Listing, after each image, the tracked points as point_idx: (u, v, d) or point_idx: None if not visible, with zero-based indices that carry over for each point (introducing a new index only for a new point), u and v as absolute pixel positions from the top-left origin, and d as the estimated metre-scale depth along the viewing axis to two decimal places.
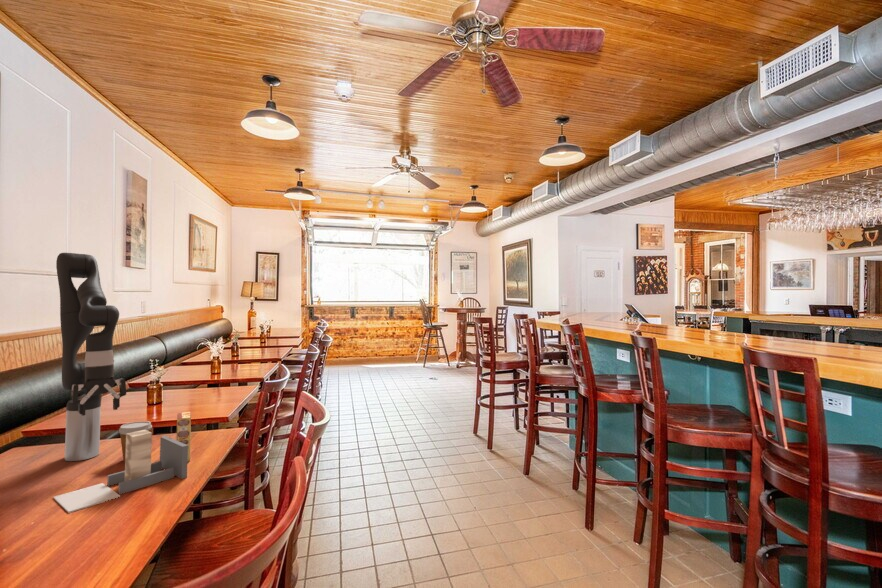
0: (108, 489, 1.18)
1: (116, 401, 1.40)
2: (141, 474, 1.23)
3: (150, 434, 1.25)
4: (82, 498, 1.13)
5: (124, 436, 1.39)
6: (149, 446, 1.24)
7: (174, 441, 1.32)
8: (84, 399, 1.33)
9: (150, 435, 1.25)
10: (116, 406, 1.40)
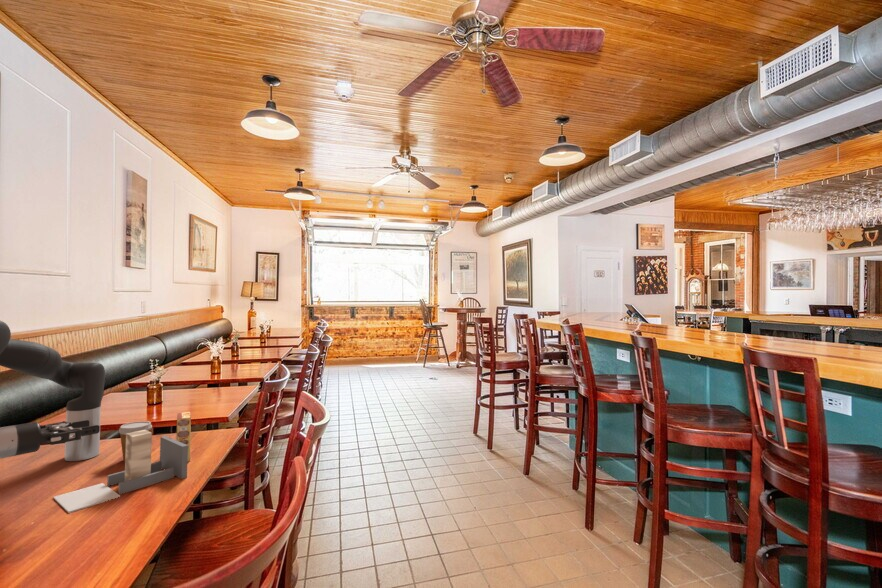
0: (108, 489, 1.18)
1: (85, 434, 1.10)
2: (141, 474, 1.23)
3: (150, 434, 1.24)
4: (82, 498, 1.13)
5: (124, 436, 1.39)
6: (149, 446, 1.24)
7: (174, 441, 1.32)
8: None
9: (150, 435, 1.24)
10: None
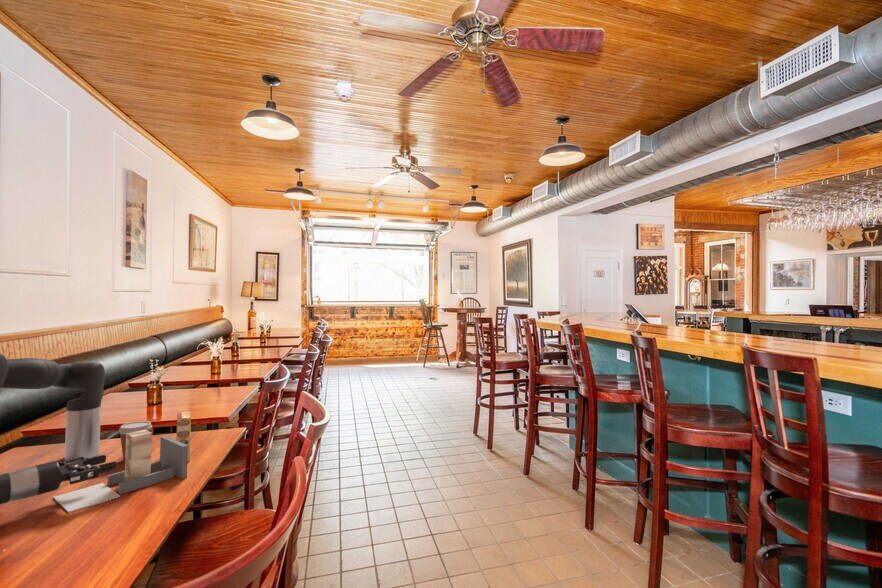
0: (108, 489, 1.18)
1: None
2: (141, 474, 1.23)
3: (150, 434, 1.24)
4: (82, 498, 1.13)
5: (124, 436, 1.39)
6: (149, 446, 1.24)
7: (174, 441, 1.32)
8: None
9: (150, 435, 1.24)
10: None
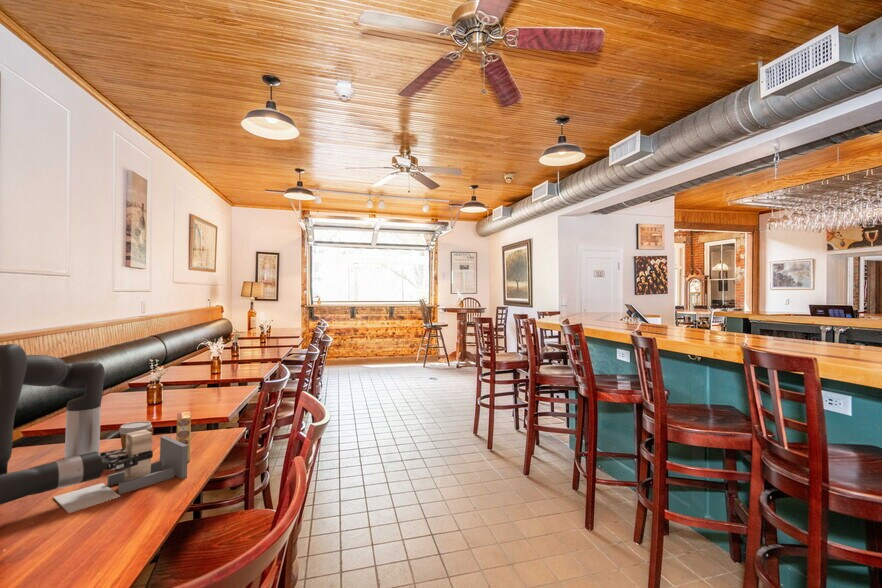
0: (108, 489, 1.18)
1: None
2: (141, 474, 1.23)
3: (150, 434, 1.25)
4: (82, 498, 1.13)
5: (124, 436, 1.39)
6: (149, 446, 1.24)
7: (174, 441, 1.32)
8: None
9: (150, 435, 1.25)
10: None
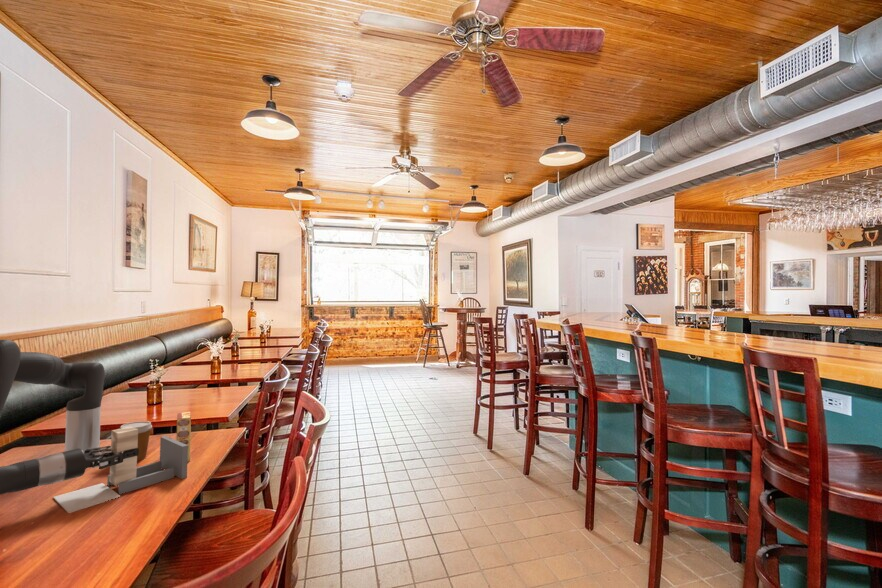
0: (108, 489, 1.18)
1: None
2: (126, 472, 1.19)
3: (136, 431, 1.22)
4: (82, 498, 1.13)
5: None
6: (135, 443, 1.21)
7: (174, 441, 1.32)
8: None
9: (136, 432, 1.22)
10: None
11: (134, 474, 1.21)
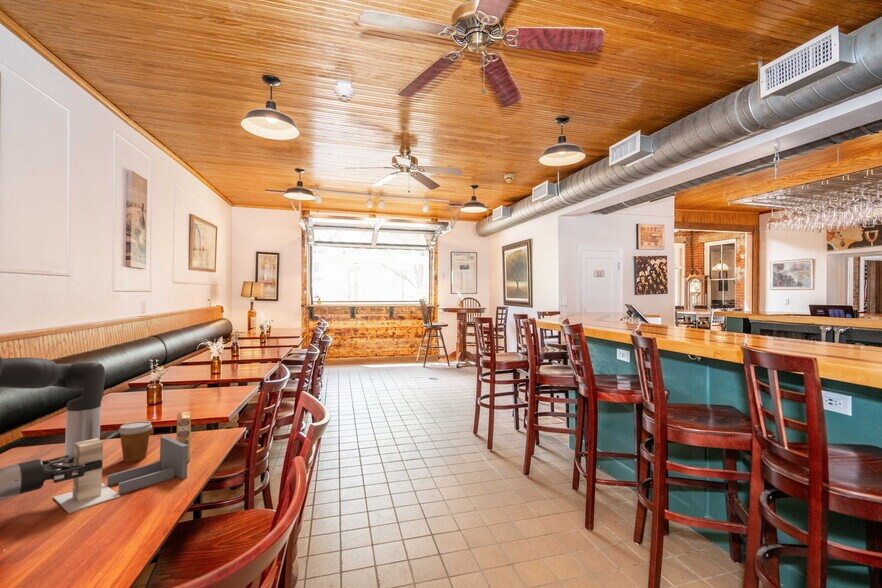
0: (108, 489, 1.18)
1: None
2: (90, 487, 1.13)
3: (101, 443, 1.15)
4: None
5: (124, 436, 1.39)
6: (100, 456, 1.14)
7: (174, 441, 1.32)
8: None
9: (101, 444, 1.15)
10: None
11: (99, 489, 1.14)
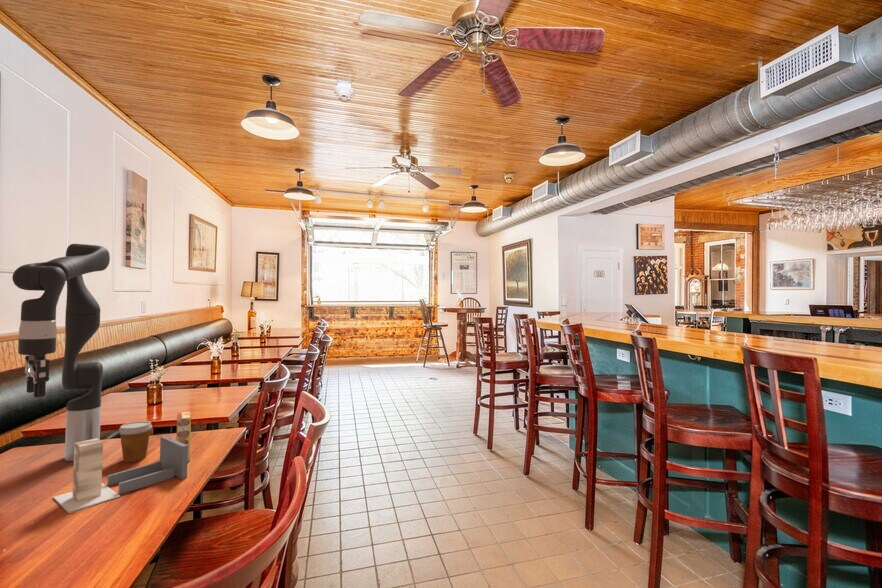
0: (108, 489, 1.18)
1: (35, 387, 1.10)
2: (90, 487, 1.13)
3: (101, 443, 1.15)
4: None
5: (124, 436, 1.39)
6: (100, 456, 1.14)
7: (174, 441, 1.32)
8: (26, 374, 1.15)
9: (101, 444, 1.15)
10: (34, 393, 1.10)
11: (99, 489, 1.14)
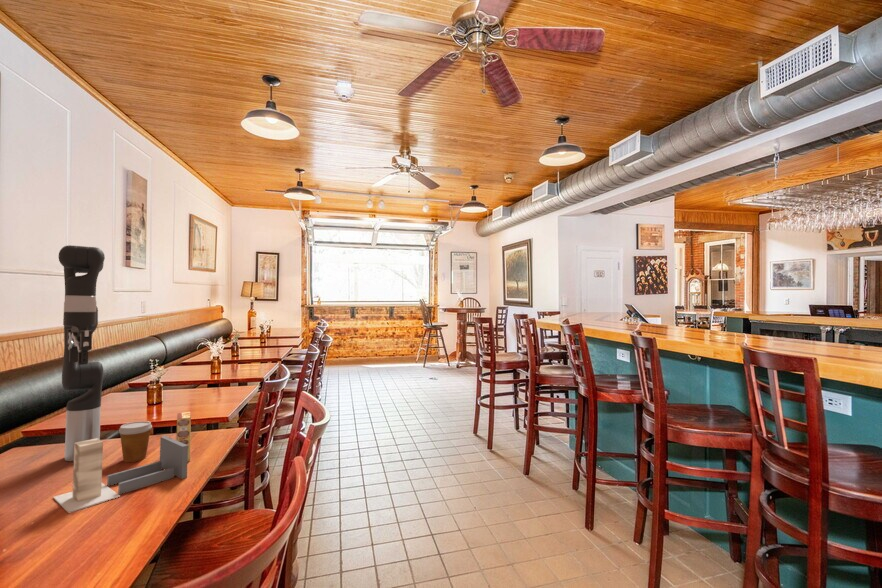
0: (108, 489, 1.18)
1: (79, 355, 1.22)
2: (90, 487, 1.13)
3: (101, 443, 1.15)
4: None
5: (124, 436, 1.39)
6: (100, 456, 1.14)
7: (174, 441, 1.32)
8: (69, 345, 1.26)
9: (101, 444, 1.15)
10: (78, 360, 1.21)
11: (99, 489, 1.14)
